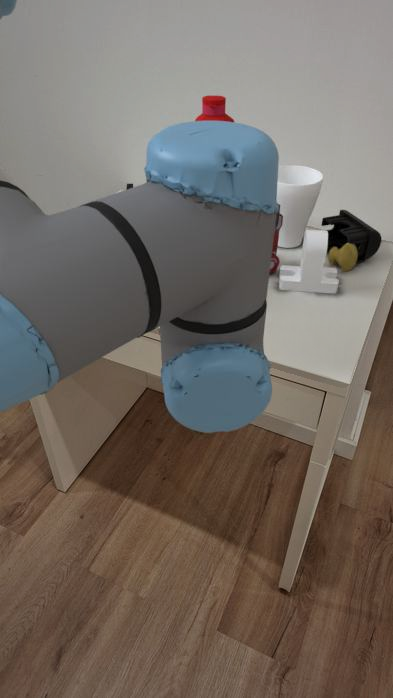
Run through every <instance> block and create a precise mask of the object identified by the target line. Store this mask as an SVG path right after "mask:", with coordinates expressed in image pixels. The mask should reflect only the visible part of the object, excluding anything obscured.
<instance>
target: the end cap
mask: <svg viewBox="0 0 393 698" xmlns="http://www.w3.org/2000/svg"><path fill="white" fill-rule="evenodd" d="M325 226H333V227H332V228H331V229H325V230H324V231H328V245H327V253H326V254H328V255H329V252H330V250H331V249H332V248H333V247H337V248H338V249H339V250H340V249H341V248H342V247H343V246H344V245H345V244H346V243H350V244H355V246H356V248H357V252H358V257H357V261H356V264H355V265H359V264H362V263H364V262H367V260H369V259H371V258H373V256H375V255H376V254H377V253H378V251H379V249H380V248H381V245H382V241H383V240H382V234H381V233H380V232H379V231H378V230H376V229H375V228H374V227H372V226H371V225H369V224H368V223H366V222H365V221H364V220H362V219H361V218H359V217H357V216H356V215H354V214H353V213H352V212H350V211H349V210H346V209H340V210H339V214H337V215H332V216H326V217H322V220H321V227H325Z"/></svg>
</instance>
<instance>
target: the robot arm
mask: <svg viewBox="0 0 393 698" xmlns="http://www.w3.org/2000/svg"><path fill="white" fill-rule="evenodd" d="M17 2H18V0H0V20H2V18H3V17H8V16H10V15H11V14H13V13H14V11H15V9H16V6H17ZM279 160H280V156H279V151H278V148H277V144H276V143H275V142H274V140H273V139H272V137H270V135H268V134H267V133H266V132H264V131H263V130H261V129H259V128H257V127H254V126H252V125H249V124H244V123H240V122H236V121H234V122H227V121H195V120H194V121H193V120H192V121H186V122H180V123H176V124H175V123H174V124H172V125H168V126H166V127H164V128H163V129H162V130H160V131H159V132H156V133H155V134H154V135H153V136H152V137H151V138H150V139H149V141H148V143H147V147H146V161H145V162H146V163H145V167H144V169H143V171H144V174H145V178H146V179H145V181H146V182H144V183H142V184H139V185H136V186H134V183H126V188H125V189H124V190H122V191H118V192H116V193H113V194H110V195H106V196H104V197H101V198H98V199H95V200H92V201H90V202H87V203H84V204H81V205H79V206H78V205H77V206H76V207H73V208H69V209H66V210H63V211H60V212H57V213H53V214H50V215H49V214H46V213H45V212H44V211H43V210H42V209H41V208H40V207H39V205H38V204H37V203H36V202H35V201H34V200H32V199H31V197H29V196H28V195H27V193H26V192H25V191H24V190H23V189H22V187H21V186H20V185H19V184H18V183H17V182H16V181H15V179H14V178H13V177H12V176H11V175H10V174H9V173H8V172H7V171H6V169H5V168H4V167H3V166H2V165H1V164H0V413H2V412H5V411H7V410H9V409H11V408H13V407H16V406H18V405H21V404H23V403H25V402H27V401H29V400H31V399H34V398H36V397H38V396H42V395H44V394H47V393H48V392H51V391H52V390H53V389H54V388H55V386H56V385H57V384H58V383H60V382H61V381H63V380H65V379H67V378H69V377H70V376H72V375H74V374H76V373H78V372H79V371H81V370H82V369H84V368H86V367H88V366H89V365H91V364H93V363H94V362H96V361H99V360H100V359H102V358H103V357H104V356H106V355H109V354H110V353H112V352H113V351H116V350H117V349H119V348H121V347H122V346H125V345H127V344H128V343H129V342H132V341H134V340H135V339H138V338H141V337H143V336H144V335H145V334H148V333H151V332H152V331H154V330H156V329H158V328H159V339H160V353H161V368H160V383H161V385H162V388H163V396H164V402H165V406H166V409H167V411H168V412H169V414H170V415H171V417H172V418H173V419H174V420H175V421H176V422H177V423H179V424H180V425H181V426H184V427H185V428H187V429H189V430H192V431H195V432H199V433H204V434H212V433H213V434H214V433H219V432H224V433H228V432H233V431H236V430H240V429H241V428H244V427H246V426H247V425H250V424H251V423H253V422H254V421H256V420H257V419H258V418H259V417H260V416H261V415H263V413H264V412H265V410H266V409H267V407H268V406H269V403H270V402H271V400H272V399H271V398H272V395H273V384H272V378H271V372H270V370H271V361H269V360H268V356H266V354H265V348H264V336H265V326H266V315H267V308H268V307H267V306H268V303H267V301H268V300H267V297H268V289H269V281H270V274H269V273H270V264H271V256H272V247H273V239H274V232H275V230H276V229H277V227H278V222H279V214H280V204H278V203H277V201H276V199H277V181H278V166H279V163H280V162H279Z"/></svg>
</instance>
